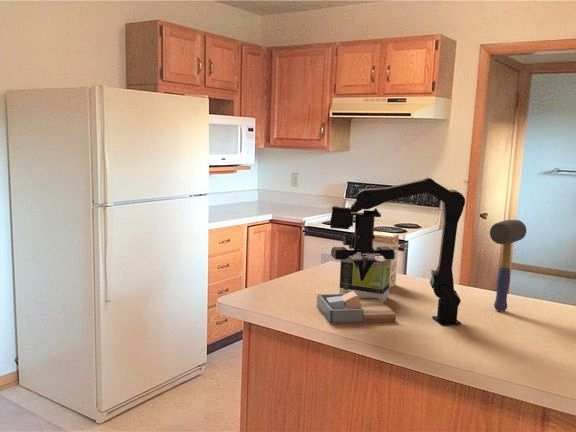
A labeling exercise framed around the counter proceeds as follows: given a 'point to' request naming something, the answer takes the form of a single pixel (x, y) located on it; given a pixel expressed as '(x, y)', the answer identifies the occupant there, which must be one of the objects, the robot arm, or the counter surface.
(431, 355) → the counter surface
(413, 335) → the counter surface
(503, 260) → the rubber mallet
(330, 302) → the gray cube
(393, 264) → the coffeecake box
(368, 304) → the board
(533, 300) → the counter surface
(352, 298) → the peach cube
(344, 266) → the tea box
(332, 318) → the tray
